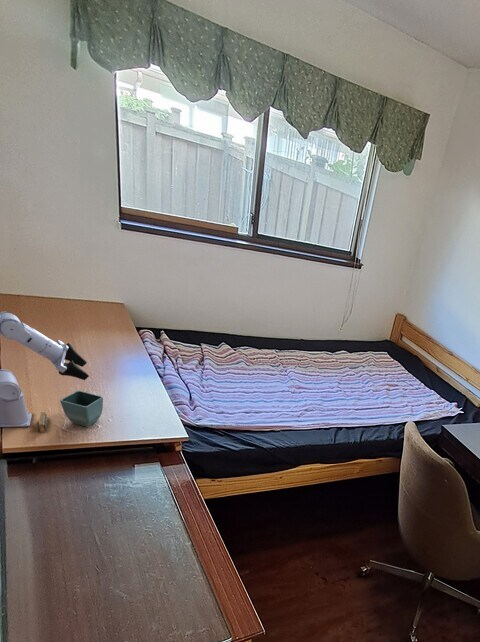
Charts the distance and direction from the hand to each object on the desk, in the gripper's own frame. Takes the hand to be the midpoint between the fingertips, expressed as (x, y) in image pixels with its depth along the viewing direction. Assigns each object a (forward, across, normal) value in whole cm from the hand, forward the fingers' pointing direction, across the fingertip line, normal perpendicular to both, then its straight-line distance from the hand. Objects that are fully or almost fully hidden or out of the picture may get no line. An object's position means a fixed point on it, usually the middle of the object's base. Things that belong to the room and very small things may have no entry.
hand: (85, 371), depth 148 cm
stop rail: (0, -10, +19) cm, 22 cm away
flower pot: (+8, -9, +12) cm, 17 cm away
